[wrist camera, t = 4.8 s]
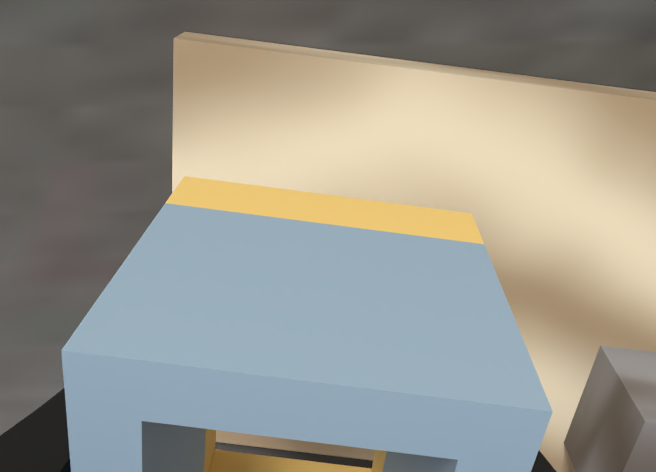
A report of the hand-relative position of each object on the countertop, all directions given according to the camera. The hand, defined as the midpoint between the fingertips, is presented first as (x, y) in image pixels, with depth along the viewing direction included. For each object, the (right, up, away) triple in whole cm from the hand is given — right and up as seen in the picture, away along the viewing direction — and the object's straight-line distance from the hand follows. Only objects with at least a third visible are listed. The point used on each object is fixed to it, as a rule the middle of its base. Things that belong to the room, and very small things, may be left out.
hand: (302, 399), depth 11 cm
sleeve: (0, +1, +1) cm, 1 cm away
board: (+6, +1, +10) cm, 11 cm away
